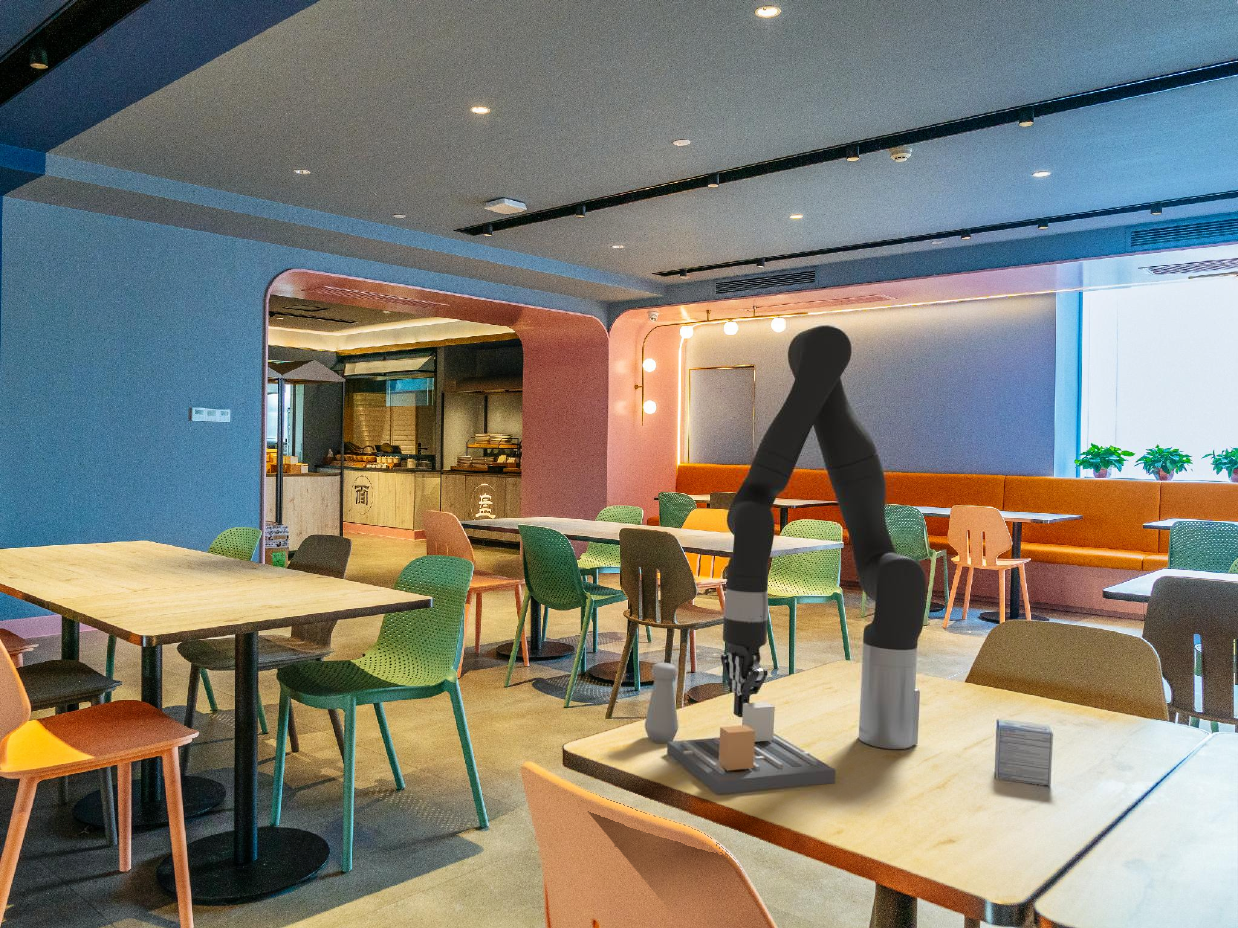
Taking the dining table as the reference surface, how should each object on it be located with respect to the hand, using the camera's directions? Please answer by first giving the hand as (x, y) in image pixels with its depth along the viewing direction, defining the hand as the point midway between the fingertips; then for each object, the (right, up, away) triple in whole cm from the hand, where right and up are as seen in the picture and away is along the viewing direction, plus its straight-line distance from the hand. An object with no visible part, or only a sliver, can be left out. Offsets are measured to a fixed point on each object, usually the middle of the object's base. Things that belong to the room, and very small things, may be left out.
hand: (741, 715), depth 152 cm
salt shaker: (-14, -4, -1) cm, 14 cm away
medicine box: (+43, -7, -12) cm, 45 cm away
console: (-1, -5, -13) cm, 14 cm away
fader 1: (-3, -2, -19) cm, 20 cm away
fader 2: (+2, -2, -5) cm, 6 cm away
